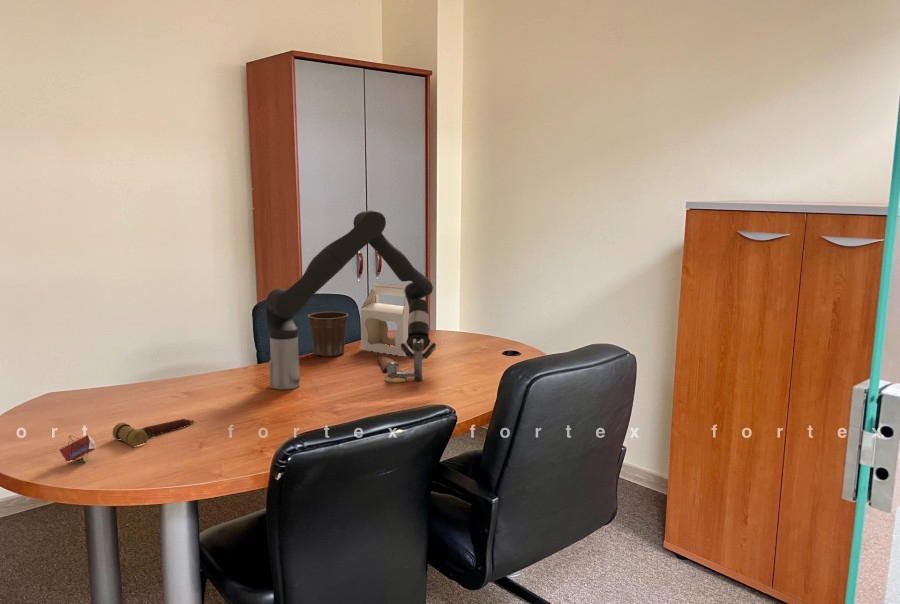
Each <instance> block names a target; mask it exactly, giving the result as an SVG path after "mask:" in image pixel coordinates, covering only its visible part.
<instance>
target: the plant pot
mask: <svg viewBox="0 0 900 604" xmlns="http://www.w3.org/2000/svg"><path fill="white" fill-rule="evenodd" d="M348 317H349V313H346V312H343V311H342V312H341V311H321V312H313V313H310V314H308V315H307V318H308V322H309V327H310V330H311V336H312V337H311V339H312V345H313V354H314V355H315V356H317V357H318V356H321V357H327V358H328V357H336V356H340V355H344V354H345V344H346V342H345V341H346V329H347V328H346V327H347V324H348V323H347V322H348Z"/></svg>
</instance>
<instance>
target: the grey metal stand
mask: <svg viewBox="0 0 900 604" xmlns="http://www.w3.org/2000/svg"><path fill="white" fill-rule="evenodd" d="M413 349H414V353H413V354H414V359H413V371H411V372H410V371H405V372H404V371H397V363H396V362H397V361H396V362H388V363H387V374H385V376H384V381H385V382H386V383H390V384H391V383H392V384H401V383H402V384H403V383H406V382H408V380H409V378H411V377H413V381H414V382H421V381H423V360H422V350H423V344H422V343H421V342H419V341H417V342H415V343H414V344H413Z"/></svg>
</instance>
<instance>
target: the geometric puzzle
mask: <svg viewBox="0 0 900 604" xmlns="http://www.w3.org/2000/svg"><path fill="white" fill-rule="evenodd" d="M75 436H78V435H69V436H68V440H70V439H71V441H68V443H67V445H64V444H65V443H63V444H62V446H63V447H60V449H59V451H60V453H61V455H62V457H63V458H64V460H65V462H67V461H70V460H74V461H75V460H76V461H79V459H80V458H81V459H83V458H84V455H85V456H88V455H89V454H90V453H91V454H90V455H92V454H93V453H92V452H93V451H95V450H96V442H95V440H94V439H93V438H91V436H89V435H88V434H85V435H84V436H82V437H79V438H78V437H75ZM72 438H75V439H72ZM89 458H90V456H89ZM89 458H88V457H86V459H85V461H88V459H89Z"/></svg>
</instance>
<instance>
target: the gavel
mask: <svg viewBox="0 0 900 604" xmlns="http://www.w3.org/2000/svg"><path fill="white" fill-rule="evenodd" d="M194 423H195V421H194V419H185V418H181V419H177V420H172V421H169V422H168V421H167V422H163V423H158V424H153V425H148V426H144V427H143V428H137V429H136V428H134V427H132V426H131V425H130V424H127V423H125V422H120V423H117V424H116V425H114V427H113V428H112V433H111V434H112V437H113V438H114V439H115V438H116V439H115V440H117V439H121V441H122V440H123V442H124V441H125V443H126V442H127V443H126V444H128V445H129V446H130V445H131V446H130V447H132V446H137V445H140V444H143V443H146V444H147V442H148V440H149V439H148V438H149V437H150V436H149V435H151V436H154V435H153V434H155V435H159V434H158V433H160V434H162V433H161V432H164V433H167V432H166V431H169V432H171V431H170V430H173V429H177V428H180V427H184V426H187V425H189V424H191V425H192V424H194ZM189 426H190V425H189ZM187 427H188V426H187ZM184 428H185V427H184ZM180 429H181V428H180ZM177 430H178V429H177ZM173 431H174V430H173Z"/></svg>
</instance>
